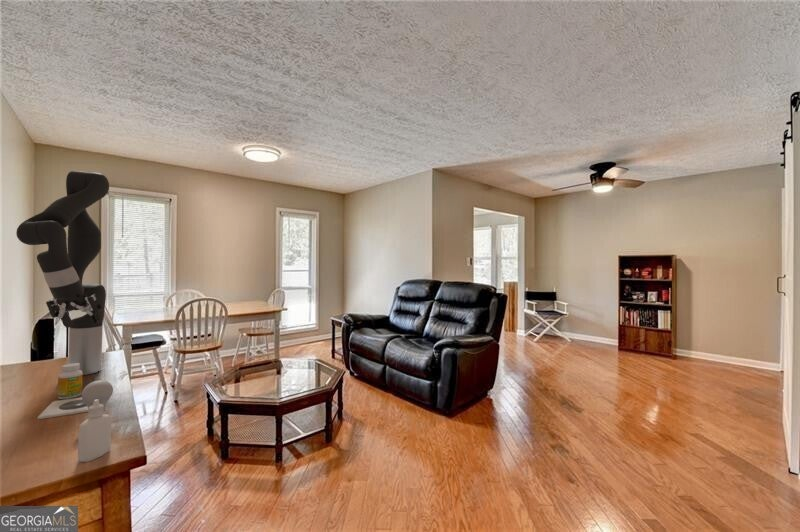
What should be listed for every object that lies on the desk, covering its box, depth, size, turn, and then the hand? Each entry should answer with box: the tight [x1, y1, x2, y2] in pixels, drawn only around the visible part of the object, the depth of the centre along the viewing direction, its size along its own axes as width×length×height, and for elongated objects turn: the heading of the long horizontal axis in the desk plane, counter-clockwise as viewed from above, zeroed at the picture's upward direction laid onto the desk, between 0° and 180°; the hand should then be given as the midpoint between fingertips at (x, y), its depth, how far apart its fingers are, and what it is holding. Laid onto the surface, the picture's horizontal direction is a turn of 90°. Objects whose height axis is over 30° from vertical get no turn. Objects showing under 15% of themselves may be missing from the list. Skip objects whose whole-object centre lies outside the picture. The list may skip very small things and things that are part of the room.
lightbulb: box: [81, 379, 114, 414], centre depth 88 cm, size 6×6×11 cm
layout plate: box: [37, 396, 89, 420], centre depth 98 cm, size 12×13×1 cm
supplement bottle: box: [57, 363, 84, 400], centre depth 105 cm, size 5×5×10 cm
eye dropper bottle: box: [77, 399, 112, 463], centre depth 73 cm, size 4×6×12 cm
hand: (83, 325), depth 116 cm, fingers open, 8 cm apart
